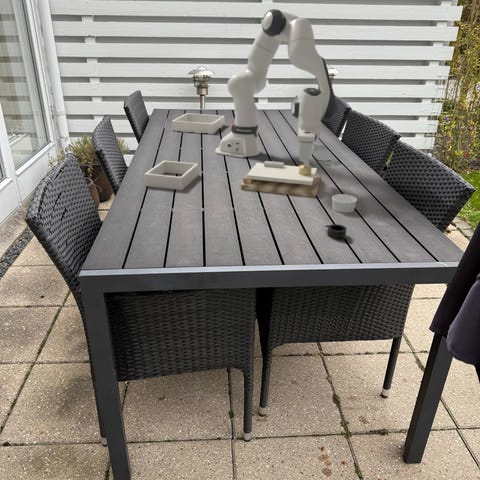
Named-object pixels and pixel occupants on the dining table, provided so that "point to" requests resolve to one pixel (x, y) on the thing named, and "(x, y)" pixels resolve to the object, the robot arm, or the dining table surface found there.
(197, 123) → the white square tray
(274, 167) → the plate
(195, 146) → the dining table surface
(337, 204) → the ramekin
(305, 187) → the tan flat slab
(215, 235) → the dining table surface
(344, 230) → the duct tape
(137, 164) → the dining table surface
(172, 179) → the frame
